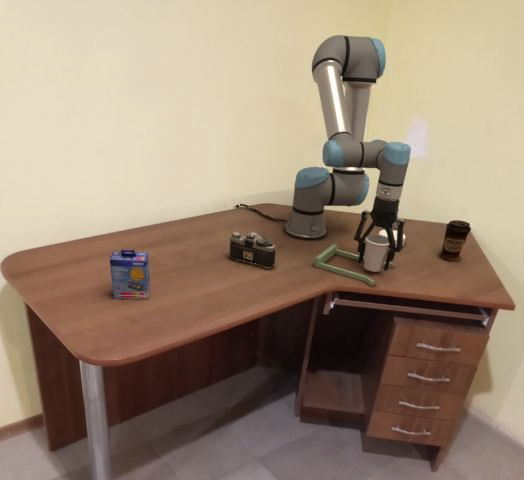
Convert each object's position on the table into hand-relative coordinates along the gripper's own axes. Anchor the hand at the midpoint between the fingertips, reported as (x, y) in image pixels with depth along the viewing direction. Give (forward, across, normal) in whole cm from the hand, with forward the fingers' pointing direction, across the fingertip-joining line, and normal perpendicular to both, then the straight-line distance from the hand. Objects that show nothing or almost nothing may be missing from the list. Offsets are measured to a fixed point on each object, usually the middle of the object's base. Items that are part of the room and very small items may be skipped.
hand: (373, 265), depth 170 cm
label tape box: (+3, -10, +48) cm, 49 cm away
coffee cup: (+3, +19, +31) cm, 36 cm away
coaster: (+3, -3, +30) cm, 30 cm away
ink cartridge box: (+3, -51, -59) cm, 78 cm away
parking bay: (+3, -7, 0) cm, 7 cm away
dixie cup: (+1, 0, 0) cm, 1 cm away
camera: (+3, -36, -16) cm, 39 cm away
